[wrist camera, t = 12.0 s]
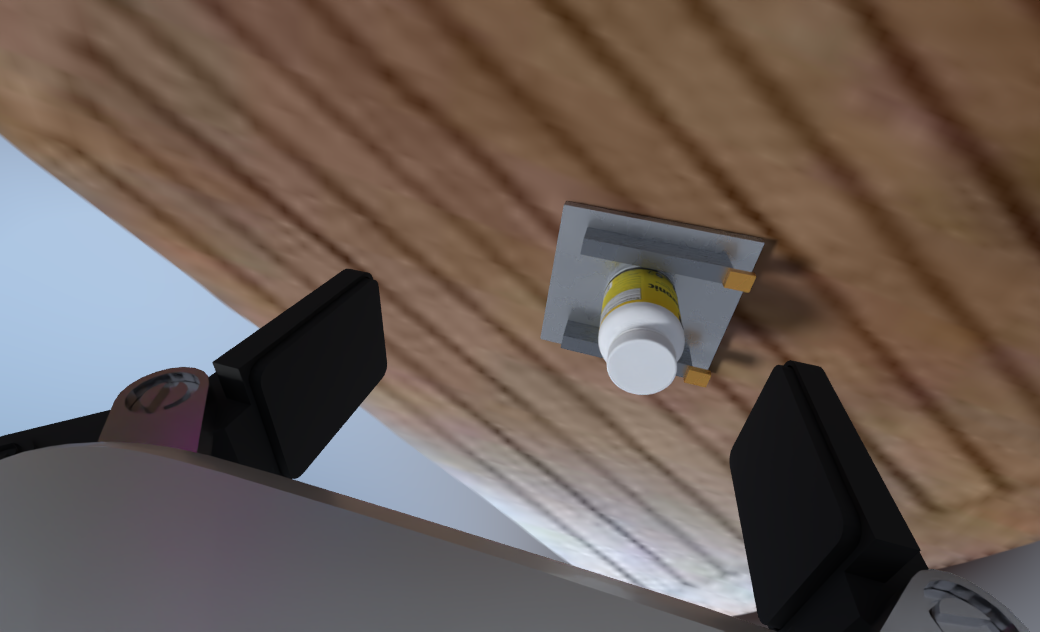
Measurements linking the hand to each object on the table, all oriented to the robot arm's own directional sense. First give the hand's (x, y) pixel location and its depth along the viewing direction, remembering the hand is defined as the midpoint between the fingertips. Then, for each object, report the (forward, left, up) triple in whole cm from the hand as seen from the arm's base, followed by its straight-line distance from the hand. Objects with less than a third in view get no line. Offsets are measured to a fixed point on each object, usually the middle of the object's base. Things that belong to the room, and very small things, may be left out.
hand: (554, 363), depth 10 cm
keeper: (-4, +9, -24) cm, 26 cm away
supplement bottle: (-4, +9, -23) cm, 25 cm away
